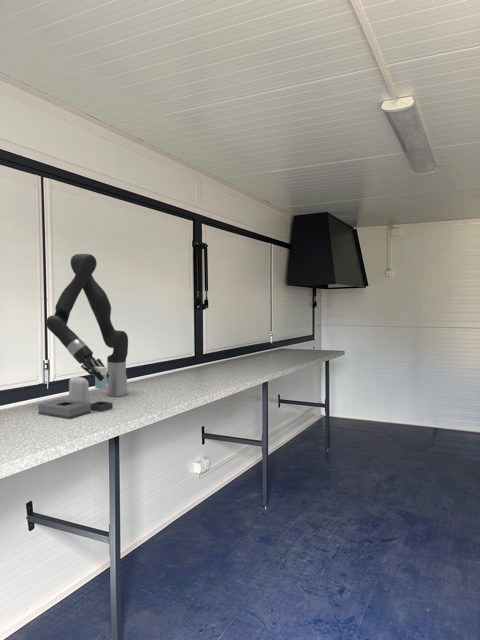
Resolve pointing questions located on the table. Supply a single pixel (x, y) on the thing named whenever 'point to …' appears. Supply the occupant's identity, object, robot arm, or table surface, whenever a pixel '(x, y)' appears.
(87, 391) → the photo printer
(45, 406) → the block
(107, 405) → the dark grey square frame
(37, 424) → the table surface
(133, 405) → the table surface
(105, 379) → the plug
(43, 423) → the table surface
